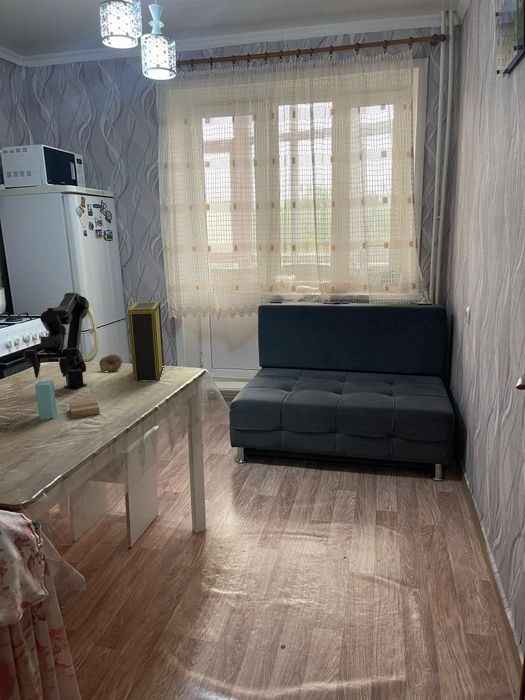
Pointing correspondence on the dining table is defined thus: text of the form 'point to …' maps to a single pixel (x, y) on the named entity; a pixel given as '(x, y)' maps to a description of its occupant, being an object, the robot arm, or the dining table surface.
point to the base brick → (84, 408)
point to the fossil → (110, 363)
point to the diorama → (146, 340)
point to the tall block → (46, 399)
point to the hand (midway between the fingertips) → (49, 377)
